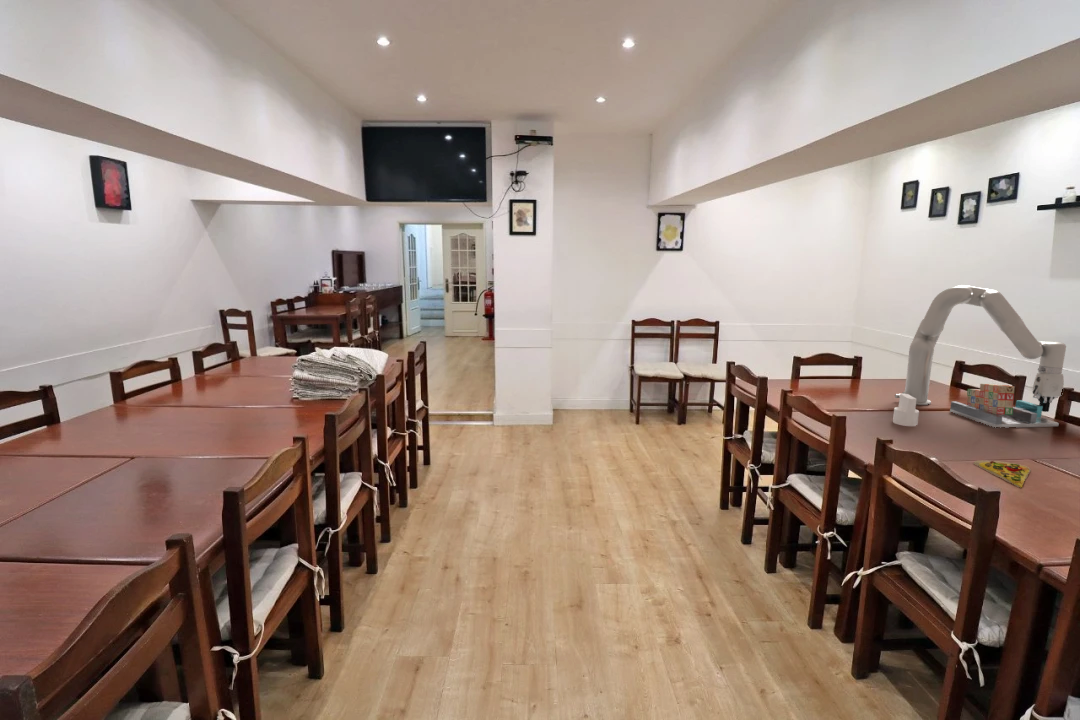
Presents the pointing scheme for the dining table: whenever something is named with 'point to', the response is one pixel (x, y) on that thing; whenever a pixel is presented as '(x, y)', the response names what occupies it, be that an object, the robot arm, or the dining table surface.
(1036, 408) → the sliding jaw
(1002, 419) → the base
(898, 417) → the base with upright slab
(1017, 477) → the pizza slice
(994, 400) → the stack of blocks
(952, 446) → the dining table surface
